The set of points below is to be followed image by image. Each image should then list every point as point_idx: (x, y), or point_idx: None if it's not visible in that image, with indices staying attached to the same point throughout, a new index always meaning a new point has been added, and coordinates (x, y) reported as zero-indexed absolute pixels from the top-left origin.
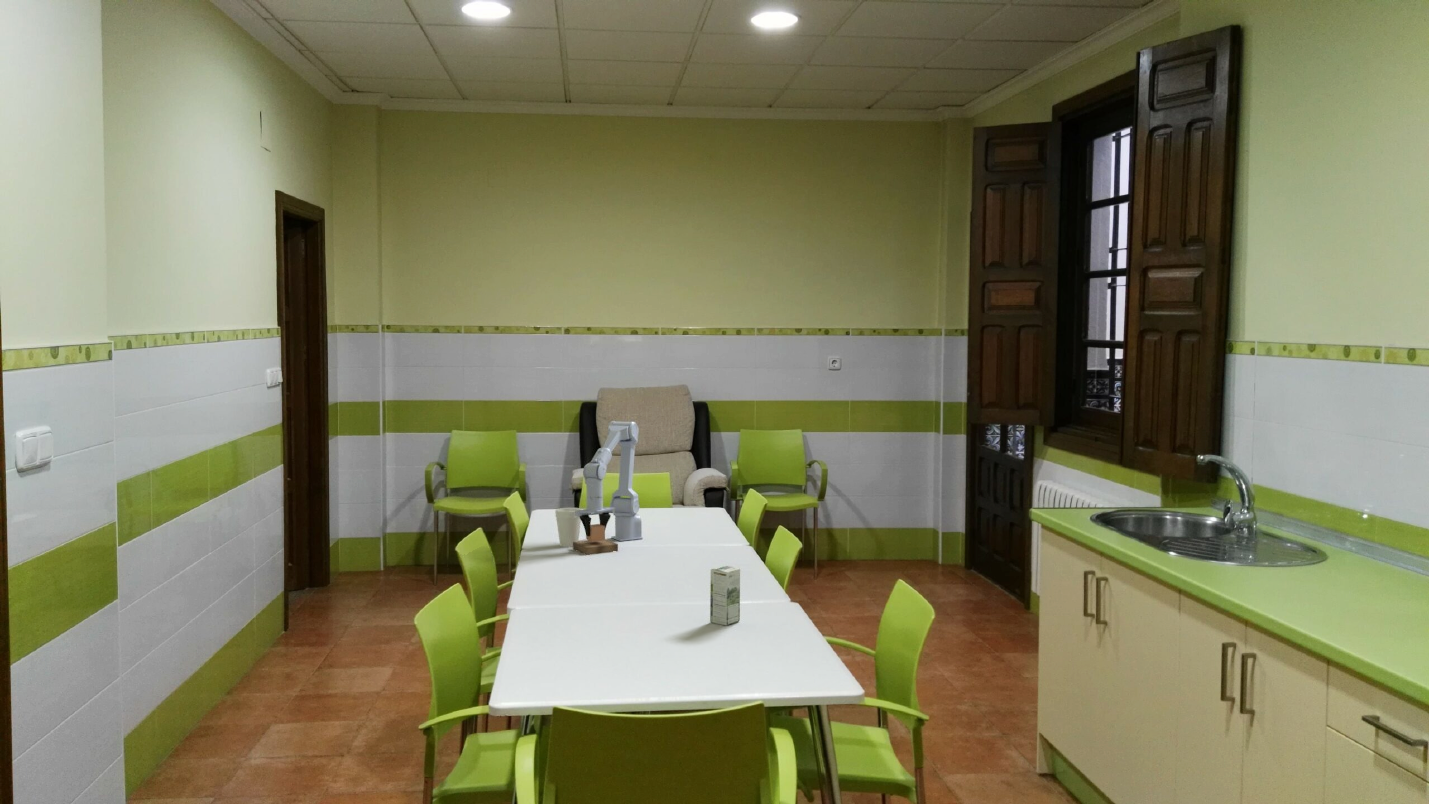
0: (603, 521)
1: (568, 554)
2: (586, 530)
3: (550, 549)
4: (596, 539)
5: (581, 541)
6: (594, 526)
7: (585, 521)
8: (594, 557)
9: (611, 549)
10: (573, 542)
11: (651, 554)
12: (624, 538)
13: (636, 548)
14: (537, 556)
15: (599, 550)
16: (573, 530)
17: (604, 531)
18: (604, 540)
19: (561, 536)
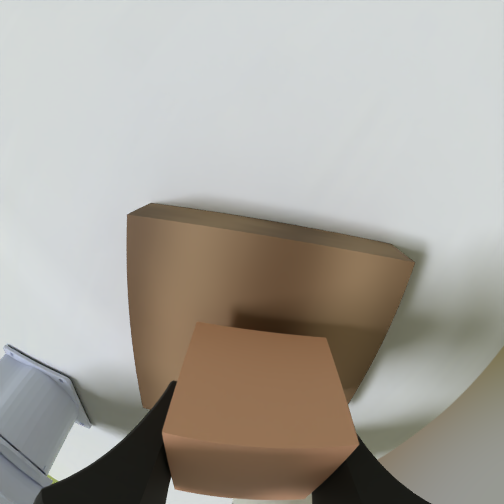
0: (150, 492)
1: (433, 315)
2: None
3: (386, 423)
4: (285, 342)
5: None
6: (284, 468)
7: (422, 502)
8: (405, 136)
9: (196, 213)
10: None
11: (76, 14)
12: (51, 380)
13: (41, 203)
14: (494, 343)
15: (303, 232)
16: None
17: (183, 379)
18: (158, 377)
19: None
